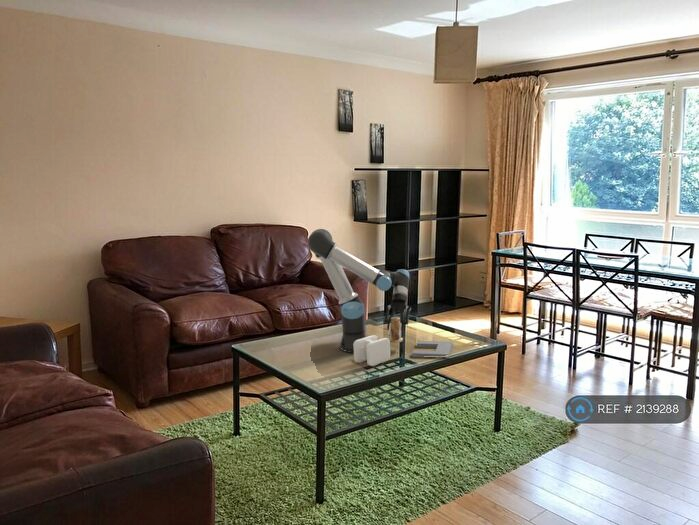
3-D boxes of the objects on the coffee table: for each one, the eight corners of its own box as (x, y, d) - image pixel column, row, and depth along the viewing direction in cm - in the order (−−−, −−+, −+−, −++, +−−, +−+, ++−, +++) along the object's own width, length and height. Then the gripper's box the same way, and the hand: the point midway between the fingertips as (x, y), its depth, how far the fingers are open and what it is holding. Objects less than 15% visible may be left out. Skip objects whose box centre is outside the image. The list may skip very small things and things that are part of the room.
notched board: (412, 357, 283) (411, 353, 282) (418, 344, 302) (417, 340, 301) (449, 358, 278) (449, 354, 278) (452, 345, 297) (452, 341, 297)
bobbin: (387, 342, 292) (387, 319, 290) (390, 338, 298) (390, 315, 296) (401, 343, 290) (401, 320, 288) (403, 339, 296) (403, 316, 294)
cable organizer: (368, 368, 270) (367, 344, 268) (353, 363, 278) (352, 340, 276) (391, 360, 280) (390, 337, 278) (376, 355, 288) (374, 333, 286)
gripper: (417, 300, 303) (412, 340, 290) (384, 299, 308) (378, 338, 295) (415, 293, 297) (410, 332, 285) (382, 292, 302) (376, 331, 289)
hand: (394, 335), depth 290 cm, fingers closed on bobbin, 4 cm apart
